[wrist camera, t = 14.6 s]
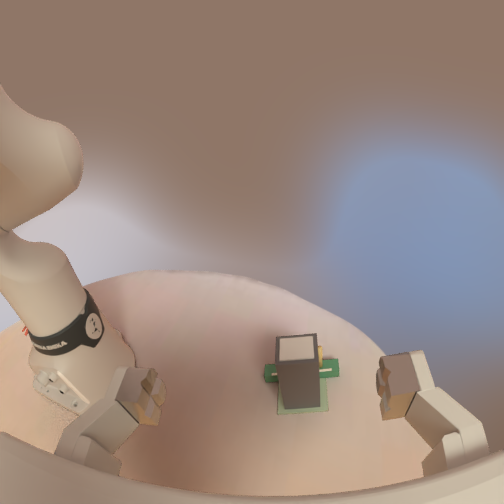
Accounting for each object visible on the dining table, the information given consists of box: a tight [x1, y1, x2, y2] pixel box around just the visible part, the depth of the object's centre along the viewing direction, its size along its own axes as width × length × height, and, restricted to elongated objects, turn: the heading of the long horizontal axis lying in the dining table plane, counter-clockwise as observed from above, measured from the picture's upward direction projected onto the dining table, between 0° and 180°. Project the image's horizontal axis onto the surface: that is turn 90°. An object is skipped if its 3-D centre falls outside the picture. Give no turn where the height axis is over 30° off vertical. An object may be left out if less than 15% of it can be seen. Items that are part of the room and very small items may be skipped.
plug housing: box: [275, 333, 320, 410], centre depth 35 cm, size 4×4×10 cm
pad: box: [278, 378, 328, 414], centre depth 37 cm, size 6×5×1 cm
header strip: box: [264, 346, 339, 382], centre depth 39 cm, size 10×2×6 cm, turn 85°
